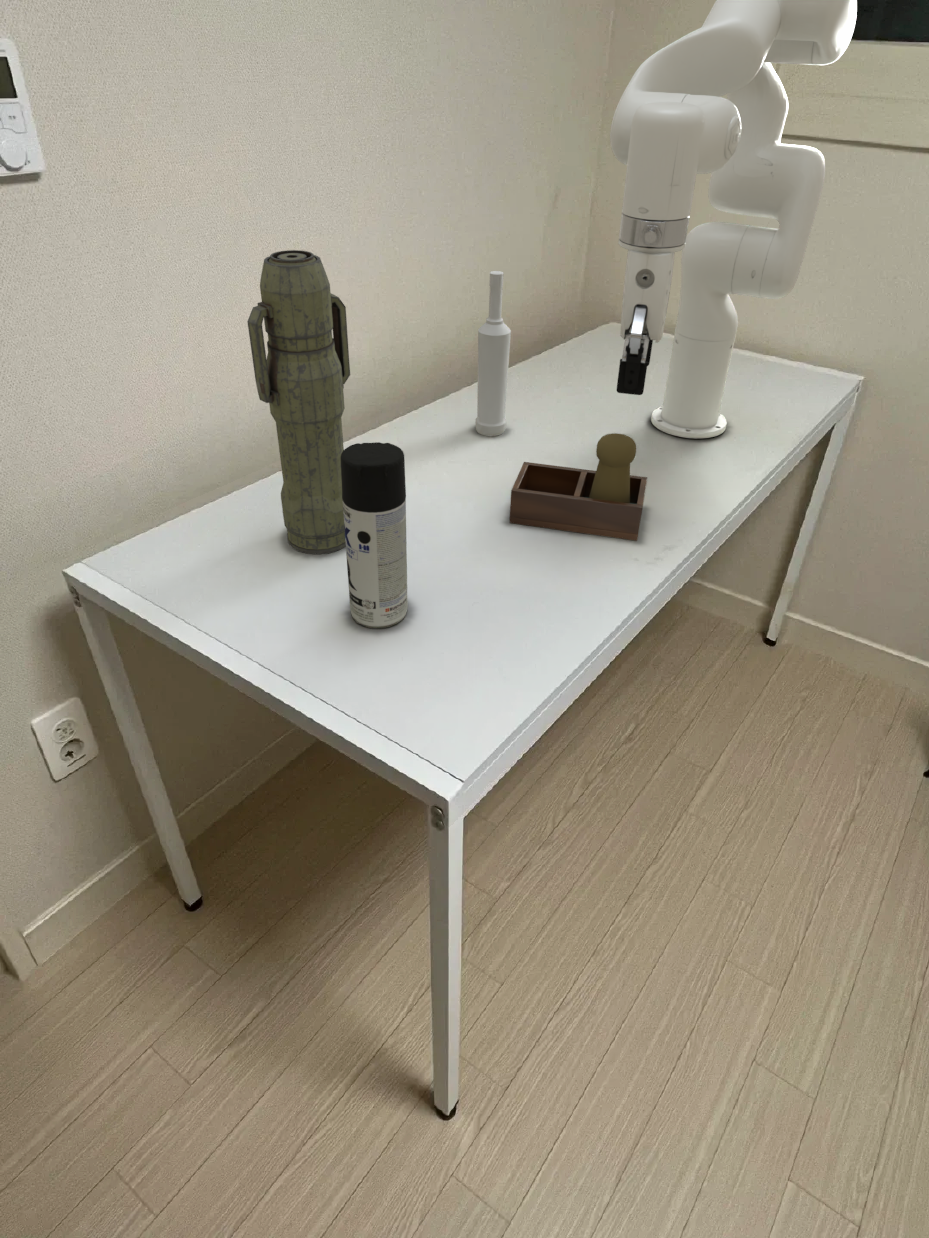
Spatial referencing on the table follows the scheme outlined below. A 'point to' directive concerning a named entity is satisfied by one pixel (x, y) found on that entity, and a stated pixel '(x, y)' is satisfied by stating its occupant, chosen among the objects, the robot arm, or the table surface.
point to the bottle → (493, 364)
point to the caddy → (573, 502)
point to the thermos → (304, 392)
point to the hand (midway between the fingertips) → (633, 378)
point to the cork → (613, 468)
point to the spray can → (375, 532)
